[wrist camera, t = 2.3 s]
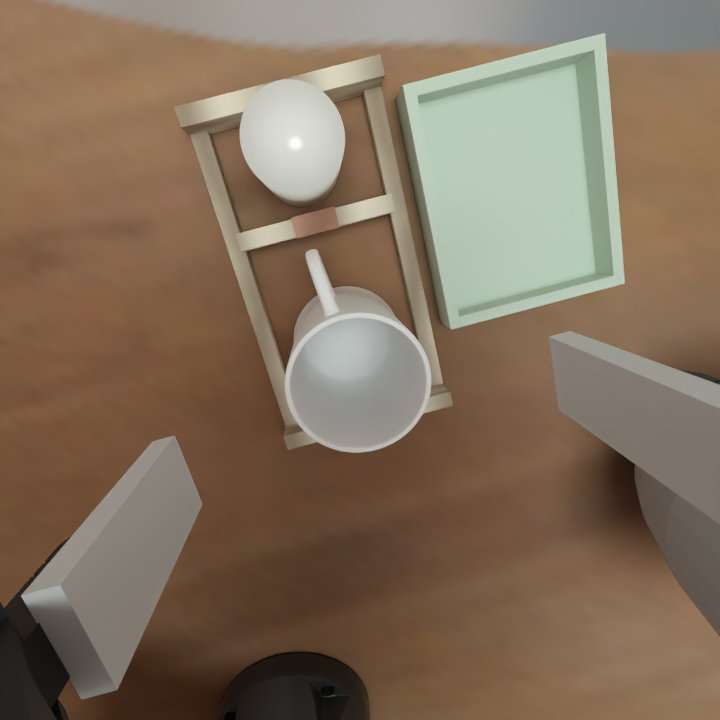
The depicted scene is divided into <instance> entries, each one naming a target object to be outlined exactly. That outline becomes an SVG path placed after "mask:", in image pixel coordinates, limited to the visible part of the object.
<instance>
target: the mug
mask: <svg viewBox="0 0 720 720" xmlns="http://www.w3.org/2000/svg"><path fill="white" fill-rule="evenodd" d="M305 257H306V261H307V265H308V268H309V271H310V274H311V277H312V280H313V283H314V286H315V288H316V291H317V294H318V295H317V296H315V297H314V298H313V299H312V300H310V301H309V302H308V303H307V305H306V306H305V307H304V308H303V310H302V311H301V313H300V315H299V317H298V319H297V322H296V325H295V329H294V344H293V347H292V351H291V354H290V358H289V361H288V365H287V369H286V374H285V394H286V399H287V403H288V406H289V409H290V411H291V413H292V415H293V417H294V419H295V421H296V422H297V423H298V425H299V426H300V427H301V428H302V430H303V431H304V432H305V433H306V434H308V435H309V436H310V437H311V438H312V439H314V440H315V441H317V442H319V443H320V444H322V445H324V446H326V447H329V448H332V449H335V450H338V451H343V452H353V453H360V452H369V451H374V450H378V449H381V448H384V447H386V446H388V445H391V444H393V443H394V442H396V441H398V440H399V439H401V438H402V437H403V436H405V435H406V434H407V433H408V432H409V431H410V430H411V429H412V428H413V427H414V426H415V425H416V423H417V422H418V421H419V419H420V418H421V416H422V414H423V413H424V411H425V408H426V406H427V403H428V400H429V397H430V392H431V370H430V365H429V361H428V358H427V356H426V353H425V351H424V349H423V347H422V346H421V344H420V343H419V341H418V340H417V339H416V337H415V336H414V335H413V334H412V333H411V332H410V331H409V330H408V329H407V328H406V327H405V326H404V325H403V324H402V323H401V322H400V321H399V320H398V319H397V318H396V317H395V315H394V313H393V311H392V310H391V308H390V307H389V306H388V304H387V303H386V302H385V301H384V300H383V299H382V298H380V297H379V296H378V295H376V294H375V293H373V292H371V291H369V290H366V289H363V288H360V287H354V286H340V287H335V288H332V286H331V283H330V281H329V278H328V276H327V273H326V270H325V268H324V265H323V263H322V260H321V258H320V255H319V253H318V251H317V250H316V249H311V250H309V251H307V252H306V253H305Z"/></svg>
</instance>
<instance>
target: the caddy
mask: <svg viewBox="0 0 720 720" xmlns="http://www.w3.org/2000/svg"><path fill="white" fill-rule="evenodd" d="M384 76H385V74H384V69H383V64H382V59H381V54H379V55H375V56H371V57H367V58H363V59H360V60H356V61H352V62H348V63H344V64H340V65H336V66H332V67H328V68H324V69H321V70H317V71H313V72H309V73H305V74H301V75H297V76H293V77H289V78H285V79H295V80H301V81H304V82H307V83H310V84H312V85H314V86H315V87H317V88H319V89H320V90H321V91H323V92H324V93H325V94H326V95H327V96H328V97H329V98H330V99H331V101H332V102H333V103H335V102H338V101H342V100H346V99H350V98H354V97H358V96H362V95H363V100H364V104H365V109H366V113H367V118H368V122H369V127H370V131H371V136H372V140H373V145H374V149H375V154H376V158H377V163H378V167H379V172H380V176H381V181H382V186H383V190H384V195H383V196H379V197H375V198H372V199H368V200H364V201H360V202H356V203H352V204H349V205H345V206H341V207H337V208H335V206H333V207H329V208H325V209H322V210H318V211H314V212H310V213H306V214H303V215H299V216H295V217H291V220H287V221H284V222H280V223H276V224H272V225H268V226H264V227H261V228H257V229H253V230H249V231H245V232H242V231H241V228H240V225H239V221H238V218H237V215H236V212H235V209H234V206H233V202H232V199H231V196H230V193H229V190H228V186H227V183H226V180H225V177H224V174H223V171H222V167H221V164H220V161H219V158H218V155H217V152H216V148H215V145H214V142H213V139H212V136H211V134H214V133H218V132H222V131H226V130H230V129H234V128H238V127H240V123H241V119H242V115H243V112H244V110H245V107H246V106H247V104H248V102H249V100H250V99H251V98H252V97H253V95H254V94H255V93H256V92H257V91H258V90H260V89H261V88H263V87H264V86H266V85H268V84H269V83H266V84H262V85H258V86H254V87H250V88H247V89H243V90H239V91H235V92H231V93H227V94H223V95H219V96H215V97H211V98H208V99H204V100H200V101H196V102H192V103H188V104H184V105H180V106H176V107H174V108H175V111H176V114H177V117H178V120H179V123H180V126H181V128H182V129H183V130H185V131H186V132H187V133H188V134H189V135H190V136H191V139H192V142H193V145H194V148H195V151H196V154H197V157H198V160H199V163H200V166H201V169H202V173H203V176H204V179H205V182H206V185H207V188H208V191H209V194H210V197H211V200H212V203H213V206H214V209H215V212H216V215H217V218H218V221H219V224H220V228H221V231H222V234H223V237H224V240H225V243H226V246H227V249H228V252H229V255H230V258H231V261H232V264H233V267H234V270H235V273H236V276H237V279H238V283H239V286H240V289H241V292H242V295H243V298H244V301H245V304H246V307H247V310H248V313H249V316H250V319H251V322H252V325H253V328H254V331H255V334H256V338H257V341H258V344H259V347H260V350H261V353H262V356H263V359H264V362H265V365H266V368H267V371H268V374H269V377H270V380H271V383H272V386H273V389H274V393H275V396H276V399H277V402H278V405H279V408H280V411H281V414H282V417H283V420H284V423H285V431H284V436H283V437H284V440H285V443H286V446H287V449H288V450H290V449H293V448H297V447H301V446H305V445H308V444H312V443H316V442H317V441H315V440H314V439H312V438H311V437H310V436H309V435H308V434H306V433H305V432H304V431H303V430H302V428H301V427H300V426H299V425H298V423H297V422H296V421H295V419H294V417H293V415H292V413H291V411H290V409H289V406H288V403H287V399H286V394H285V374H286V371H285V367H284V364H283V361H282V358H281V355H280V352H279V348H278V345H277V342H276V339H275V336H274V333H273V329H272V326H271V323H270V320H269V317H268V313H267V310H266V307H265V304H264V301H263V298H262V294H261V291H260V288H259V285H258V282H257V279H256V275H255V272H254V269H253V266H252V263H251V260H250V256H249V253H248V251H250V250H254V249H258V248H262V247H265V246H269V245H273V244H277V243H281V242H284V241H288V240H292V239H296V238H297V239H298V238H301V237H305V236H309V235H313V234H317V233H320V232H324V231H328V230H332V229H336V228H340V227H342V226H346V225H349V224H353V223H357V222H361V221H365V220H368V219H372V218H376V217H380V216H384V215H387V214H389V217H390V222H391V226H392V231H393V235H394V240H395V244H396V249H397V253H398V258H399V262H400V267H401V271H402V276H403V280H404V285H405V289H406V294H407V298H408V303H409V308H410V312H411V317H412V321H413V326H414V330H415V335H416V339H417V340H418V341H419V343H420V344H421V346H422V347H423V349H424V351H425V353H426V356H427V358H428V361H429V365H430V370H431V392H430V397H429V400H428V403H427V406H426V408H425V411H424V413H427V412H431V411H435V410H438V409H442V408H446V407H449V406H453V403H452V398H451V394H450V391H449V390H448V389H447V387H446V386H445V385H444V384H443V380H442V375H441V371H440V366H439V361H438V356H437V352H436V347H435V342H434V337H433V333H432V328H431V323H430V318H429V314H428V309H427V304H426V299H425V294H424V290H423V285H422V280H421V275H420V271H419V266H418V261H417V256H416V252H415V247H414V242H413V237H412V232H411V228H410V223H409V218H408V213H407V209H406V204H405V199H404V194H403V190H402V185H401V180H400V175H399V171H398V166H397V161H396V156H395V151H394V147H393V142H392V137H391V132H390V128H389V123H388V118H387V113H386V109H385V104H384V99H383V94H382V90H381V84H382V81H383V79H384ZM282 80H283V79H282ZM274 82H275V81H274ZM270 83H272V82H270Z"/></svg>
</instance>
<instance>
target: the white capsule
mask: <svg viewBox="0 0 720 720" xmlns="http://www.w3.org/2000/svg"><path fill="white" fill-rule="evenodd" d="M240 143H241V148H242V152H243V155H244V157H245V160H246V162H247V164H248V166H249V167H250V169H251V170H252V172H253V173H254V174H255V175H256V176H257V177H258V178H259V179H260V180H261V181H262V182H263V183H264V184H265V185H266V186H267V188H268V189H269V190H270V191H271V192H272V193H273V194H274V195H275V196H276V197H278V198H279V199H280V200H281V201H283V202H285V203H287V204H289V205H292V206H296V207H309V206H313V205H316V204H318V203H320V202H322V201H323V200H324V199H326V198H327V197H328V196H329V194H330V193H331V192H332V190H333V189H334V187H335V185H336V182H337V179H338V175H339V171H340V167H341V162H342V158H343V154H344V149H345V131H344V125H343V122H342V119H341V116H340V114H339V112H338V110H337V108H336V106H335V105H334V103H333V102H332V101H331V99H330V98H329V97H328V96H327V95H326V94H325V93H324V92H323V91H321V90H320V89H319V88H317V87H315V86H314V85H312V84H310V83H307V82H304V81H301V80H295V79H283V80H278V81H275V82H272V83H269V84H268V85H266V86H264V87H263V88H261V89H260V90H258V91H257V92H256V93H255V94H254V95H253V97H252V98H251V99H250V100H249V102H248V104H247V106H246V107H245V110H244V112H243V115H242V119H241V123H240Z"/></svg>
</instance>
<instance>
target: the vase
mask: <svg viewBox="0 0 720 720" xmlns="http://www.w3.org/2000/svg"><path fill="white" fill-rule="evenodd" d="M634 472H635V484H636V488H637V493H638V497H639V501H640V506H641V509H642V513H643V517H644V519H645V521H646V523H647V525H648V527H649V529H650V531H651V533H652V535H653V537H654V538H655V540H656V542H657V544H658V546H659V548H660V550H661V552H662V554H663V556H664V558H665V559H666V561H667V563H668V565H669V567H670V569H671V571H672V573H673V574H674V576H675V578H676V580H677V581H678V583H679V585H680V586H681V588H682V589H683V590H684V591H685V593H686V594H687V595H688V596H689V598H690V599H691V600H692V602H693V603H694V604H695V605H696V607H697V608H698V609H699V610H700V612H701V613H702V614H703V616H704V617H705V618H706V619H707V621H708V622H709V623H710V624H711V626H712V627H713V628H714V630H715V631H716V632H717V633H718V635H719V636H720V524H718V523H717V522H716V521H714V520H713V519H711V518H710V517H709V516H707V515H706V514H704V513H703V512H702V511H700V510H699V509H697V508H696V507H695V506H693V505H692V504H690V503H689V502H688V501H686V500H685V499H683V498H682V497H681V496H679V495H678V494H676V493H675V492H674V491H672V490H671V489H669V488H668V487H667V486H665V485H664V484H662V483H661V482H659V481H658V480H657V479H655V478H654V477H652V476H651V475H650V474H648V473H647V472H645V471H644V470H643V469H641V468H640V467H638V466H637V465H636V464H635V469H634Z"/></svg>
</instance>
